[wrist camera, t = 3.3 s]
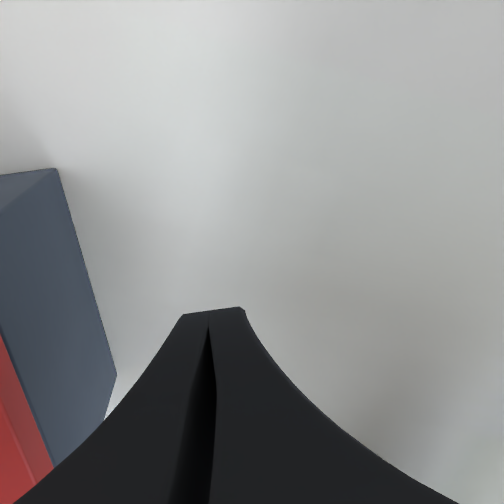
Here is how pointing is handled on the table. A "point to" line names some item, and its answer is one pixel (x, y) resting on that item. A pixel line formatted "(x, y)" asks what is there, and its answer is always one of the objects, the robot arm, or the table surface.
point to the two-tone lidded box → (45, 335)
